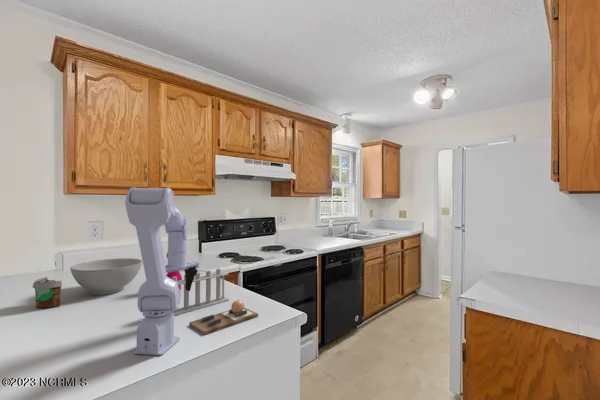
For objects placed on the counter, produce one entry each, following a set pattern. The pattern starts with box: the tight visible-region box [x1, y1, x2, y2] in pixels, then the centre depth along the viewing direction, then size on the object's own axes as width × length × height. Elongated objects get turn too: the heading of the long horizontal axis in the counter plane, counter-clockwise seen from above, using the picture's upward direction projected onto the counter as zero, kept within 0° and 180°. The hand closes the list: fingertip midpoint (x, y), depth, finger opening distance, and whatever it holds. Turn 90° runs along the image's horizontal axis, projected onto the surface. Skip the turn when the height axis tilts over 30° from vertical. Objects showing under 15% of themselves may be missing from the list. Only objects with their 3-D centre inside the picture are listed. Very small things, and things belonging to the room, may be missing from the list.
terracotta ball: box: [230, 299, 245, 313], centre depth 100 cm, size 4×4×4 cm
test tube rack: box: [172, 268, 230, 317], centre depth 109 cm, size 25×4×13 cm, turn 137°
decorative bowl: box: [69, 257, 143, 295], centre depth 130 cm, size 27×27×12 cm
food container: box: [32, 276, 63, 310], centre depth 109 cm, size 12×6×10 cm, turn 62°
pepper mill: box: [166, 252, 183, 291], centre depth 131 cm, size 7×7×20 cm
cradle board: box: [188, 307, 259, 336], centre depth 96 cm, size 20×10×2 cm, turn 136°
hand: (176, 292), depth 96 cm, fingers open, 7 cm apart
